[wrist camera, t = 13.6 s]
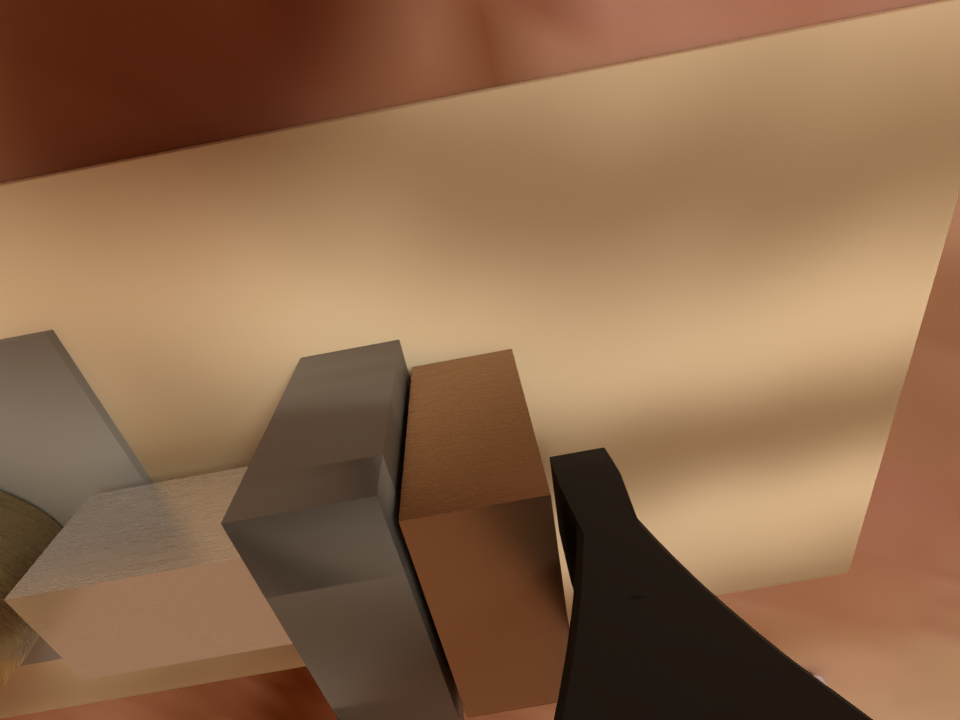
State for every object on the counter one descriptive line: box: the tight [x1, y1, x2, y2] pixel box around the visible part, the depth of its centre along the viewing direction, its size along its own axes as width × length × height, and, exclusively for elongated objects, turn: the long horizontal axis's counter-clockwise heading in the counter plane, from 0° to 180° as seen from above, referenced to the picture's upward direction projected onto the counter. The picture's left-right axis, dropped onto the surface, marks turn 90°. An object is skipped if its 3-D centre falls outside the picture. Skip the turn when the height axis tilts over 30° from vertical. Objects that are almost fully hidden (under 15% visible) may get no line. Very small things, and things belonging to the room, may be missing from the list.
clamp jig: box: [0, 0, 960, 720], centre depth 10 cm, size 14×28×5 cm, turn 100°
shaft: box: [4, 349, 569, 717], centre depth 10 cm, size 5×9×4 cm, turn 100°
